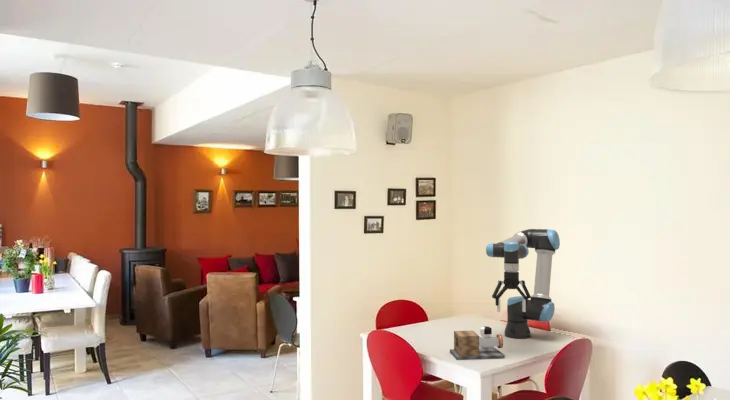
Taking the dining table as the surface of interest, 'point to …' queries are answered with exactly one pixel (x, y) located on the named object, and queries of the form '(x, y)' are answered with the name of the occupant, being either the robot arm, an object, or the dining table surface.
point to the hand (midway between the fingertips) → (511, 311)
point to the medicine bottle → (485, 334)
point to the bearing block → (472, 347)
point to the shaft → (491, 341)
